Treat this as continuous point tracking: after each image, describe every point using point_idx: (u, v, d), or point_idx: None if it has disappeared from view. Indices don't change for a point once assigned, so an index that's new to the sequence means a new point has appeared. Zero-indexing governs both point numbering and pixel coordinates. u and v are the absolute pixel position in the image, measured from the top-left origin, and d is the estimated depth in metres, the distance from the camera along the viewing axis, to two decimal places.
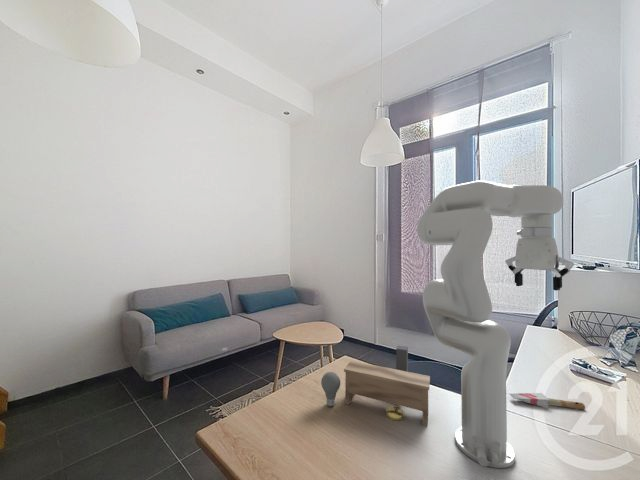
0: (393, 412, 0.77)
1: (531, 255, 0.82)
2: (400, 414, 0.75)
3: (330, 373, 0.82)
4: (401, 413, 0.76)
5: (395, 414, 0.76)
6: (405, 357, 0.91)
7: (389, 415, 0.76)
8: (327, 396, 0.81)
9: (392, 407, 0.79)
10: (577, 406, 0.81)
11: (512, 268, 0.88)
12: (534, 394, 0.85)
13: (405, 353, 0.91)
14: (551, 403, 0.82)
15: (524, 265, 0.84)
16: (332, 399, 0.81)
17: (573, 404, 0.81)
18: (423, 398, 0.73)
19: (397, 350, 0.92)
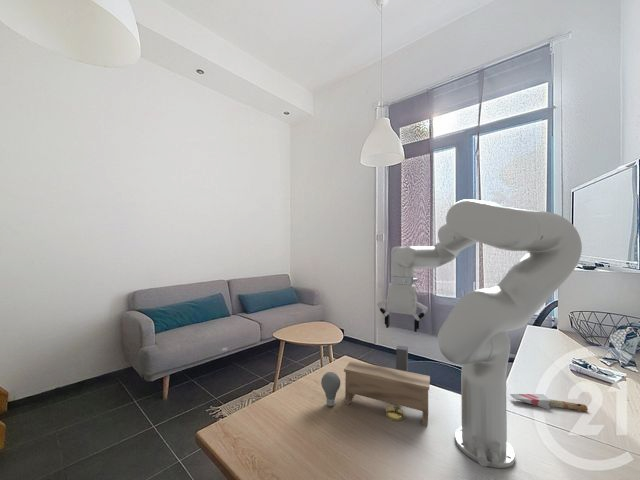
0: (393, 412, 0.77)
1: None
2: (400, 414, 0.75)
3: (330, 373, 0.82)
4: (401, 413, 0.76)
5: (395, 414, 0.76)
6: (405, 357, 0.91)
7: (389, 415, 0.76)
8: (327, 396, 0.81)
9: (392, 407, 0.79)
10: (579, 408, 0.80)
11: None
12: (536, 395, 0.85)
13: (405, 353, 0.91)
14: (552, 404, 0.82)
15: None
16: (332, 399, 0.81)
17: (575, 406, 0.81)
18: (423, 398, 0.73)
19: (397, 350, 0.92)
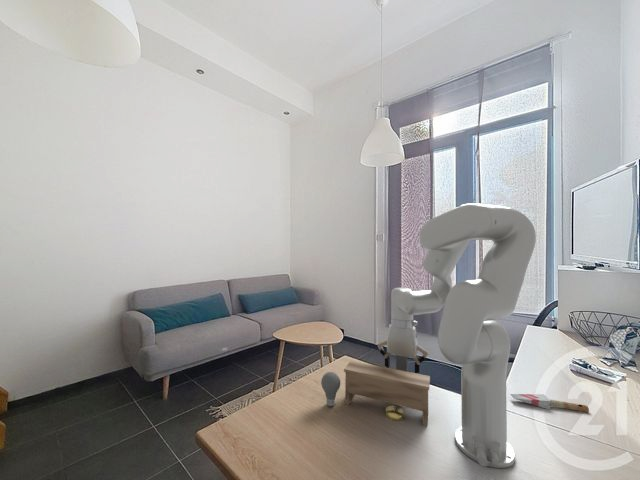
0: (393, 412, 0.77)
1: None
2: (400, 414, 0.75)
3: (330, 373, 0.82)
4: (401, 413, 0.76)
5: (395, 414, 0.76)
6: (405, 357, 0.91)
7: (389, 415, 0.76)
8: (327, 396, 0.81)
9: (392, 407, 0.79)
10: (580, 408, 0.80)
11: None
12: (536, 395, 0.84)
13: None
14: (553, 405, 0.82)
15: None
16: (332, 399, 0.81)
17: (576, 406, 0.80)
18: (423, 398, 0.73)
19: None
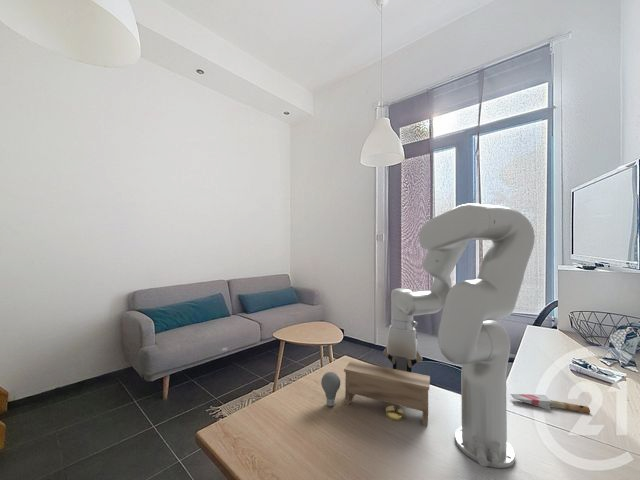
0: (393, 412, 0.77)
1: None
2: (400, 414, 0.75)
3: (330, 373, 0.82)
4: (401, 413, 0.76)
5: (395, 414, 0.76)
6: None
7: (389, 415, 0.76)
8: (327, 396, 0.81)
9: (392, 407, 0.79)
10: (581, 409, 0.79)
11: None
12: (537, 395, 0.84)
13: None
14: (554, 405, 0.81)
15: None
16: (332, 399, 0.81)
17: (577, 407, 0.80)
18: (423, 398, 0.73)
19: None
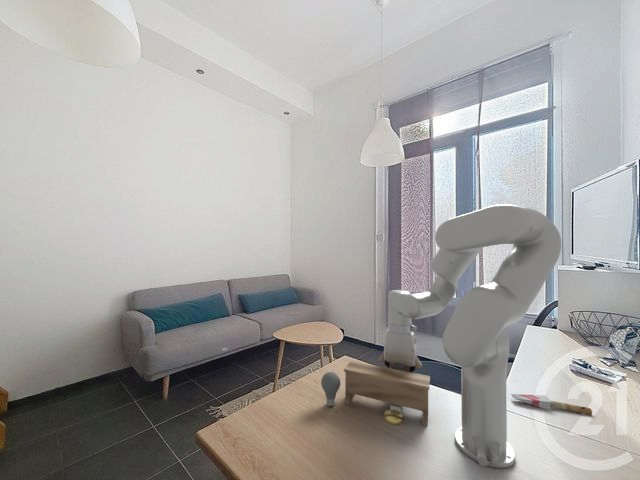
0: (392, 416, 0.75)
1: None
2: (399, 419, 0.74)
3: (330, 373, 0.82)
4: (400, 417, 0.74)
5: (394, 418, 0.74)
6: (403, 364, 0.85)
7: (388, 419, 0.74)
8: (327, 396, 0.81)
9: (391, 411, 0.77)
10: (583, 411, 0.79)
11: None
12: (538, 396, 0.84)
13: None
14: (555, 406, 0.81)
15: None
16: (332, 399, 0.81)
17: (579, 408, 0.79)
18: (423, 398, 0.73)
19: None
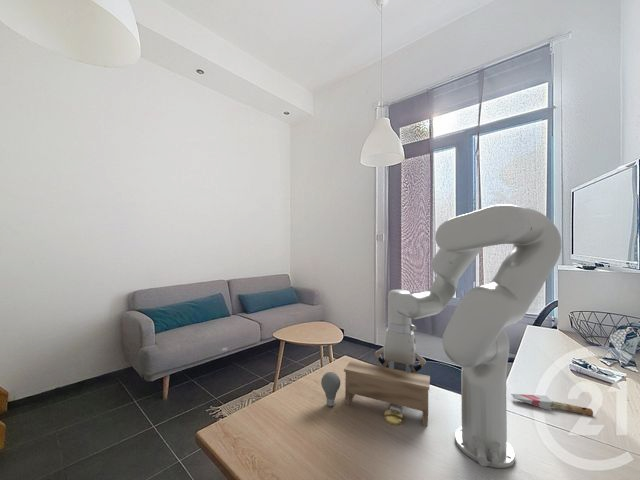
0: (392, 416, 0.75)
1: None
2: (399, 419, 0.74)
3: (330, 373, 0.82)
4: (400, 417, 0.74)
5: (394, 418, 0.74)
6: (403, 365, 0.85)
7: (388, 419, 0.74)
8: (327, 396, 0.81)
9: (391, 411, 0.77)
10: (584, 411, 0.78)
11: None
12: (538, 396, 0.84)
13: None
14: (555, 406, 0.81)
15: None
16: (332, 399, 0.81)
17: (580, 409, 0.79)
18: (423, 398, 0.73)
19: None
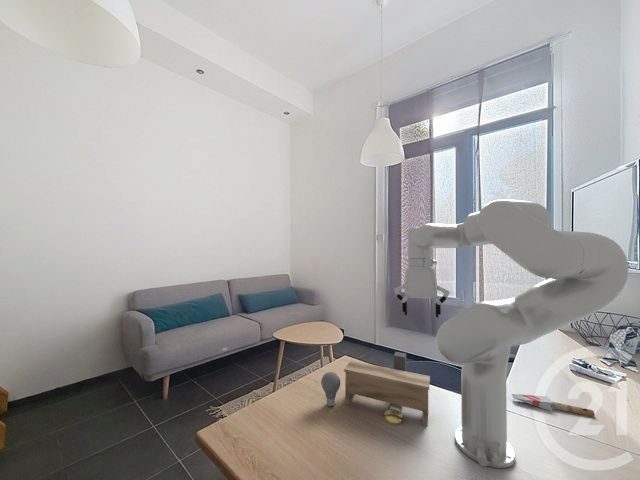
0: (392, 416, 0.75)
1: None
2: (399, 419, 0.74)
3: (330, 373, 0.82)
4: (400, 417, 0.74)
5: (394, 418, 0.74)
6: (403, 365, 0.85)
7: (388, 419, 0.74)
8: (327, 396, 0.81)
9: (391, 411, 0.77)
10: (585, 412, 0.78)
11: None
12: (539, 396, 0.84)
13: (403, 360, 0.85)
14: (556, 407, 0.80)
15: None
16: (332, 399, 0.81)
17: (581, 410, 0.78)
18: (423, 398, 0.73)
19: (395, 357, 0.86)
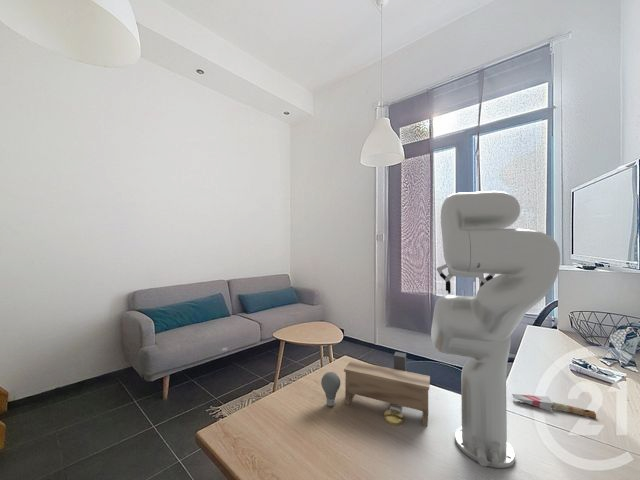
0: (392, 416, 0.75)
1: None
2: (399, 419, 0.74)
3: (330, 373, 0.82)
4: (400, 417, 0.74)
5: (394, 418, 0.74)
6: (403, 365, 0.85)
7: (388, 419, 0.74)
8: (327, 396, 0.81)
9: (391, 411, 0.77)
10: (587, 414, 0.77)
11: None
12: (539, 397, 0.83)
13: (403, 360, 0.85)
14: (556, 407, 0.80)
15: None
16: (332, 399, 0.81)
17: (582, 411, 0.78)
18: (423, 398, 0.73)
19: (395, 357, 0.86)
